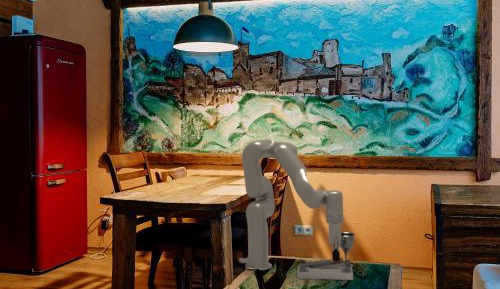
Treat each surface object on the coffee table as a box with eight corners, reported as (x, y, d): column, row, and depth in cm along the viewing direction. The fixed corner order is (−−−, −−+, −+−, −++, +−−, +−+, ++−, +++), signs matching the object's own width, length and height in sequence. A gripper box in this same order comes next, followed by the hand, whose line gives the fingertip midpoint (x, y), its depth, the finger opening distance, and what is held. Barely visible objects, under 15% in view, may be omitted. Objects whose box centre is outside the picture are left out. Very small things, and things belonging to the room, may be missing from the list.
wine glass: (355, 267, 257) (355, 235, 256) (338, 267, 257) (338, 236, 256) (352, 263, 265) (352, 232, 264) (336, 263, 265) (336, 232, 264)
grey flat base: (297, 278, 241) (297, 262, 240) (298, 272, 251) (298, 256, 250) (353, 280, 238) (352, 264, 237) (351, 273, 248) (351, 258, 247)
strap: (302, 268, 243) (301, 265, 243) (302, 265, 248) (302, 262, 248) (343, 263, 240) (342, 260, 240) (342, 260, 245) (342, 257, 245)
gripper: (326, 215, 250) (327, 255, 251) (326, 222, 235) (327, 264, 236) (342, 215, 249) (344, 255, 250) (344, 221, 234) (345, 264, 235)
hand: (336, 259), depth 243 cm, fingers closed
